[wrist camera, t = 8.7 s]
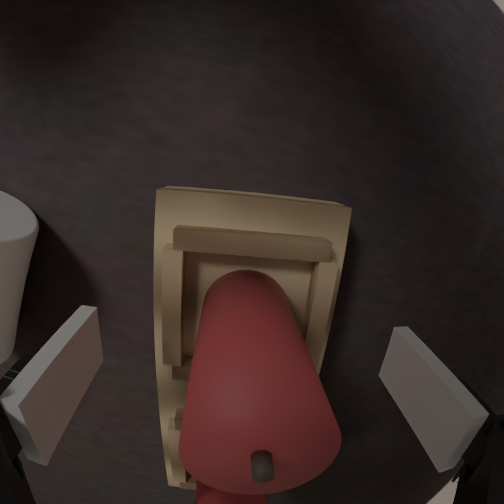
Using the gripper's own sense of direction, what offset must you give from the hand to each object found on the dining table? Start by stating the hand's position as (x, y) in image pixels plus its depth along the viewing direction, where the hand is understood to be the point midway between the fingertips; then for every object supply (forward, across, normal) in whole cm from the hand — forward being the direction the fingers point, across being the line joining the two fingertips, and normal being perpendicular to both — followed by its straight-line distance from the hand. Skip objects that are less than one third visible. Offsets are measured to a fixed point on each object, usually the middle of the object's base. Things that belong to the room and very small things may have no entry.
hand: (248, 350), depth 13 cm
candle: (+4, 0, 0) cm, 4 cm away
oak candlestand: (+7, 0, -6) cm, 10 cm away
